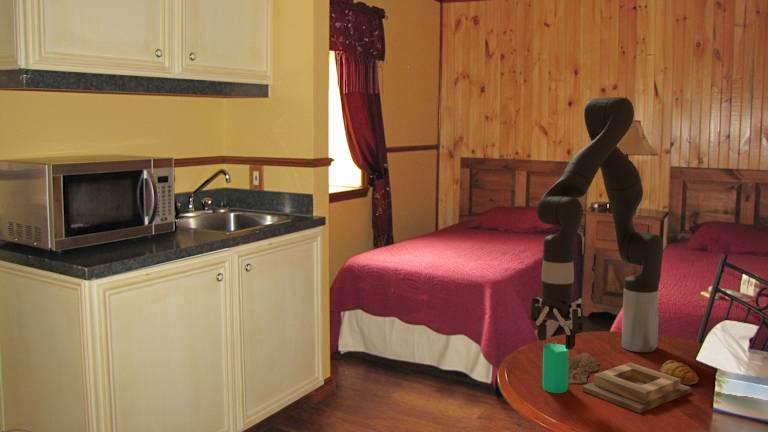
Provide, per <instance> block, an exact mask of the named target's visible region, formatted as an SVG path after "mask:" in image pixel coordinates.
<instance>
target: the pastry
mask: <svg viewBox="0 0 768 432" xmlns="http://www.w3.org/2000/svg"><path fill="white" fill-rule="evenodd" d="M659 372H660V373H663V374H666V375H669V376H673V377H676V378H679V379H680V384H682V385H686V386H690V385H693V384H694V385H695V384H697V383H698V382H699V377H698V375H697V373H696V372H695V371H694V370H693V369H692V368H690V366H689V365H687V364H685V363H683V362H677V361H676V360H673V359H669V360H667V361H666V362H664V363H663V364H662V366H661V367H660V371H659Z"/></svg>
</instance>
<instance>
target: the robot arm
mask: <svg viewBox="0 0 768 432" xmlns="http://www.w3.org/2000/svg"><path fill="white" fill-rule="evenodd" d="M583 111H584V112H583V116H584V117H583V119H584V123H585V129H586V131H587V134H588V135H589V136H588V137H589V139H590V141H591V142H590V143H588V144H587V145H586V146H584V147H582V148H581V149H580V150H579V151H577V153H575V155H573V157H572V158H571V159H570V160H569V162H568V164H567V165H566V167H565V169H564V170H563V173H562V174H561V176H560V178H559V179H558V180H557V181H556V182H555V183H554V184H553V185H552V186H551V187H549V189H548V190H547V191H546V192H545V193H544V194H543V195H542V196H541V198H540V199H539V201H538V203H537V208H536V216H537V218H538V220H539V221H540V222H541V223H543V224H545V225H549V226H556V227H557V226H558V227H560V230H559V233H558V234H550V235H547V236H546V237H545V238H544V240H543V254H542V266H541V278H540V279H541V284H540V285H541V288H540V290H541V291H540V296H537V297H533V298H532V299H531V307H530V308H531V309H530V311H531V312H530V321H531V322H534V323H535V324H536V327H537V331H536V332H537V333H536V334H537V335H536V336H537V340H538V341H541V342H542V341H546V340H547V334H548V333H547V332H548V331H547V330H548V329H547V328H548V325H547V323H548V321H550V320H551V321H555V322H557V323H559V324H560V326H561V327H563V329H564V331H565V333H566V334H565V348H566V349H567V350H569V351H570V350H573V349H574V348H575V346H576V335H577V334H581V333H583V332H584V310H583V309H584V308H582V306H581V307H573V305H572V300H573V298H574V289H575V288H574V285H575V282H574V281H575V268H574V267H575V266H574V265H575V264H574V253H575V252H574V250H575V249H574V248H575V242H576V238H577V235H578V231H579V229H580V226H581V223H582V219H583V215H584V209H583V205H582V203H581V201H580V200H579V198H582V197H584V196H585V195H586V194H587V192H588V190H589V189H590V187H591V184H592V183H593V181H594V179H595V177H596V175H597V173H598V171H599V170H601V171H600V172H601V175H602V179H603V184H604V187H605V188H604V189H605V193H606V197H607V199H608V202H609V205H610V206H609V207H610V210H611V213H612V214H611V215H612V218H613V224H614V229H615V236H616V242H617V243H616V244H617V249H618V253H619V257H620V259H621V260H622V261H623V262H624V263H627V264H630V265H636V266H642V267H641V268H642V269H641V272H640V273H638V274H634V275H628V276H626V277H625V278H624V279H623V280H624V281H623V296H622V297H623V298H622V299H623V300H622V301H623V302H622V325H621V347H622V348H623V349H624V350H626V351H627V350H628V351H631V352H636V353H651V352H654V351H655V350H656V349H657V347H658V340H659V338H658V337H659V319H660V315H659V314H658V307H659V306H658V305H659V286H660V282H661V281H660V280H661V275H662V263H663V257H664V256H663V255H664V244H663V243H664V242H663V239H662V237H661V236H660V235H658V234H656V233H650V232H649V233H648V232H642V231H641V232H640V231H637V230H636V229H635V227H634V222H633V221H634V219H633V218H634V215H635V213H636V211H637V209H638V208H639V206H640V204H641V202H642V199H643V196H644V189H643V184H642V181H641V180H642V179H641V175H640V172H639V170H638V168H637V166H635V165H636V164H634V163H633V161H632V160H631V159H630V158H629V157H628V156H627V155H626V154H625V153H624V152H623V151H622V150H621V149H620V148H619V147H618V145H619V143H620V142H621V141H622V140H623V138H624V137H625V136H626V134H627V133H628V131H629V130H630V128H631V127H632V125H633V122H634V117H635V110H634V105H633V103H632V101H631V100H630V99H629V98H628V97H627V98H626V97H622V96H621V97H620V96H618V97H617V96H614V97H595V98H590V99H589V100H588V101H587V102H586V104H585V107H584V110H583ZM566 320H567V321H566Z"/></svg>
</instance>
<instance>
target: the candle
mask: <svg viewBox="0 0 768 432" xmlns="http://www.w3.org/2000/svg"><path fill="white" fill-rule="evenodd" d="M542 347H543V348H542V351H543V352H542V382H541V384H542V389H543V390H544V391H545V392H548V393H551V394H552V393H553V394H563V393H566V392H567V391H568V387H569V386H568V359H569V355H570V354H569V351H570V350H567V349H566V348H565V345H564V344H559V343H558V344H557V343H544V345H543V346H542Z"/></svg>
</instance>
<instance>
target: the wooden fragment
mask: <svg viewBox="0 0 768 432" xmlns="http://www.w3.org/2000/svg"><path fill="white" fill-rule="evenodd" d="M599 365H601V363H600V362H598V360H596V358H594V357H593V356H591V355H590V354H589V353H587V352H583V353H581V354H578V355H575V356H573V357H570V358H569V357H568V385H571V386H572V385H582V384H583V385H585V384H587V382H588V377H590V374H591V373H594V372H597V371H598V370H599V369H600V368H599Z"/></svg>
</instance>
